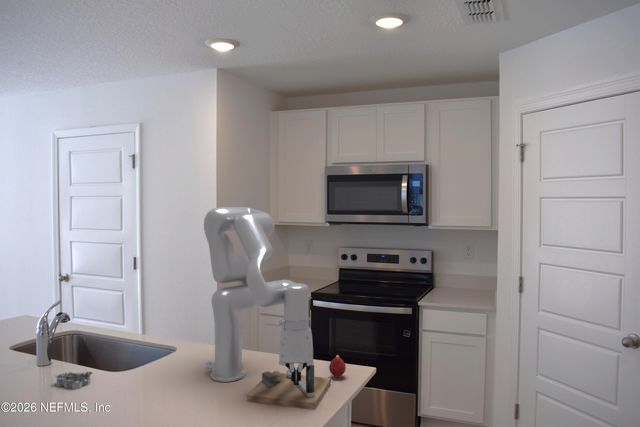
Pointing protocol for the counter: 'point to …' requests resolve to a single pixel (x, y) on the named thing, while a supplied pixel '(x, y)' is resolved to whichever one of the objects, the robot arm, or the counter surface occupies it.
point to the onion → (337, 367)
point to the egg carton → (68, 379)
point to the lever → (309, 384)
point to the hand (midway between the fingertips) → (296, 383)
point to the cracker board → (287, 391)
